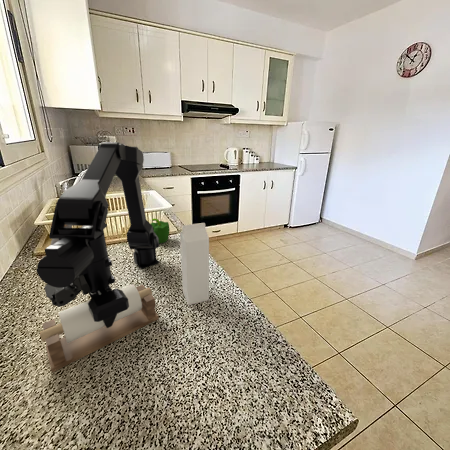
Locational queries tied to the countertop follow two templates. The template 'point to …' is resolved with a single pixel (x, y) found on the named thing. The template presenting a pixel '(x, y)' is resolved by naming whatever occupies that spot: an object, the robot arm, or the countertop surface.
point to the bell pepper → (161, 230)
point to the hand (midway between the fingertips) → (104, 317)
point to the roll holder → (98, 335)
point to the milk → (195, 262)
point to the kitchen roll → (83, 321)
